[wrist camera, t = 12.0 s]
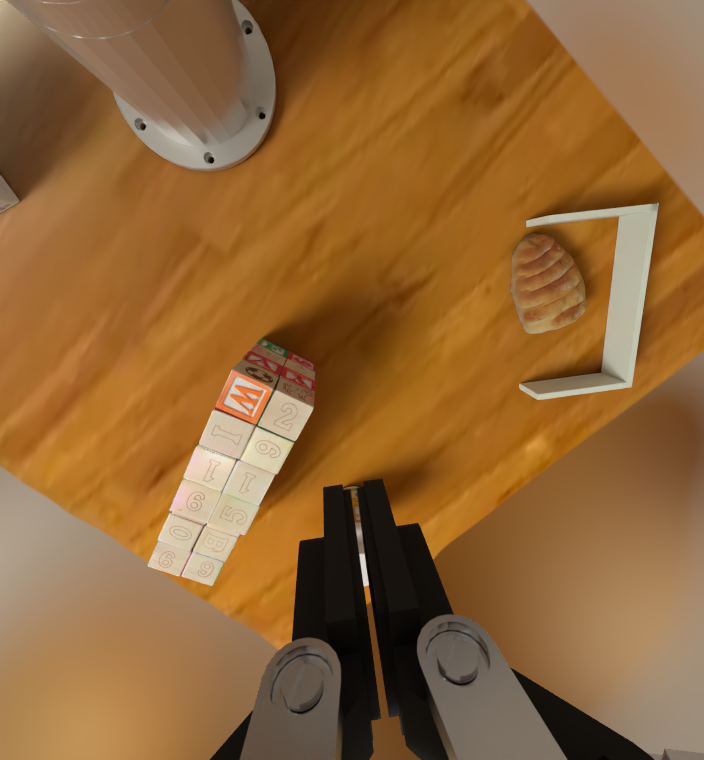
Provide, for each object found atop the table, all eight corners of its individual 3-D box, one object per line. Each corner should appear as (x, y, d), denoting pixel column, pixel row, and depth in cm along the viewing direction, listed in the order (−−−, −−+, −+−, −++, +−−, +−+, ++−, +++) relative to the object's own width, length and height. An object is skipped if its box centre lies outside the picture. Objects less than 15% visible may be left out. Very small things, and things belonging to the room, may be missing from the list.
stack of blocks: (234, 519, 41) (200, 619, 30) (182, 500, 40) (125, 596, 28) (317, 362, 37) (316, 408, 25) (260, 335, 35) (231, 369, 23)
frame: (526, 220, 34) (548, 215, 31) (626, 209, 34) (658, 203, 31) (519, 388, 39) (537, 399, 36) (605, 377, 40) (631, 387, 36)
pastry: (489, 256, 35) (509, 254, 31) (551, 219, 34) (578, 213, 31) (522, 337, 38) (544, 344, 34) (580, 304, 37) (608, 308, 34)
